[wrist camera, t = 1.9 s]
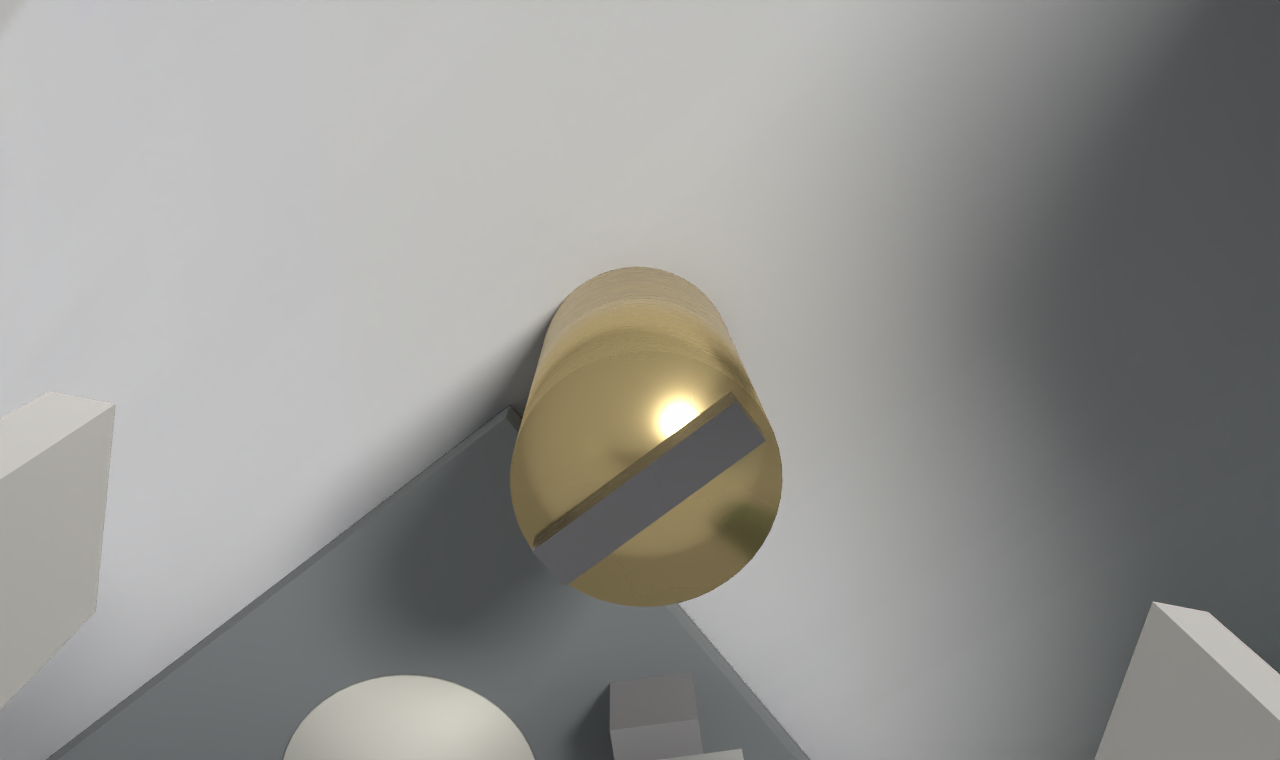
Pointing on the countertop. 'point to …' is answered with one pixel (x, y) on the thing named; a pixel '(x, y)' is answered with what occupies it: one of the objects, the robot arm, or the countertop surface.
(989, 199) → the countertop surface
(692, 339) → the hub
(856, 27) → the countertop surface
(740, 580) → the countertop surface
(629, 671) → the jig board
